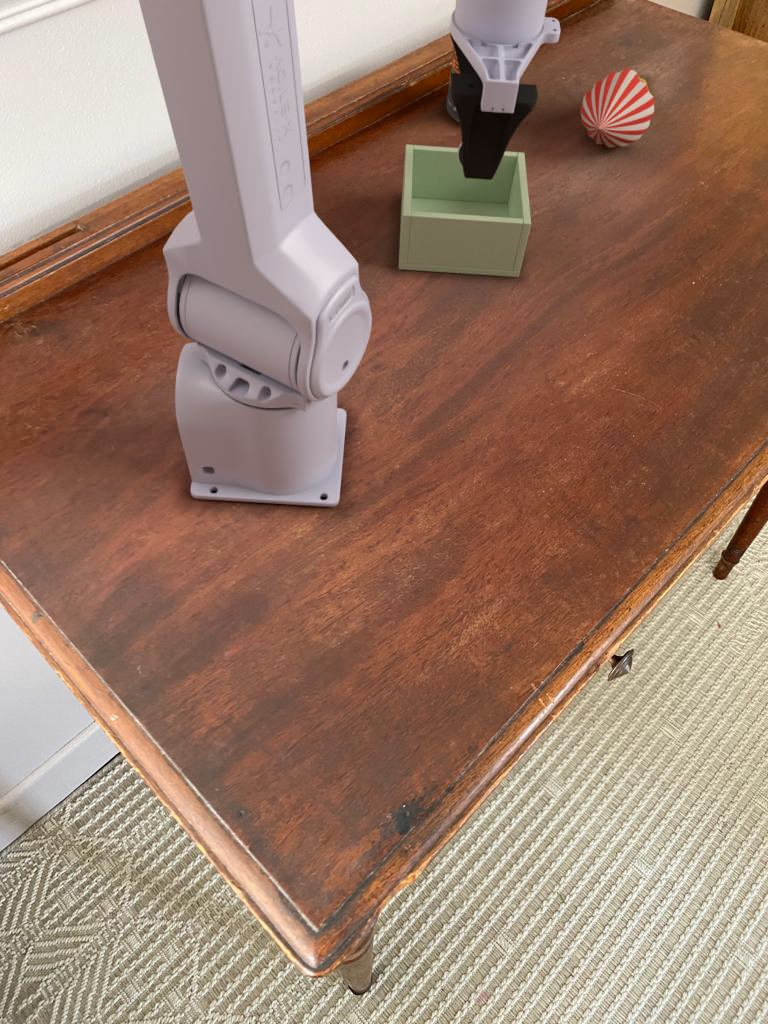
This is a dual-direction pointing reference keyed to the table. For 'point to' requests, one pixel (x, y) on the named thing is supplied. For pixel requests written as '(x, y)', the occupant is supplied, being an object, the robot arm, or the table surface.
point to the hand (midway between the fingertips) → (477, 153)
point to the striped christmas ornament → (617, 109)
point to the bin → (462, 215)
